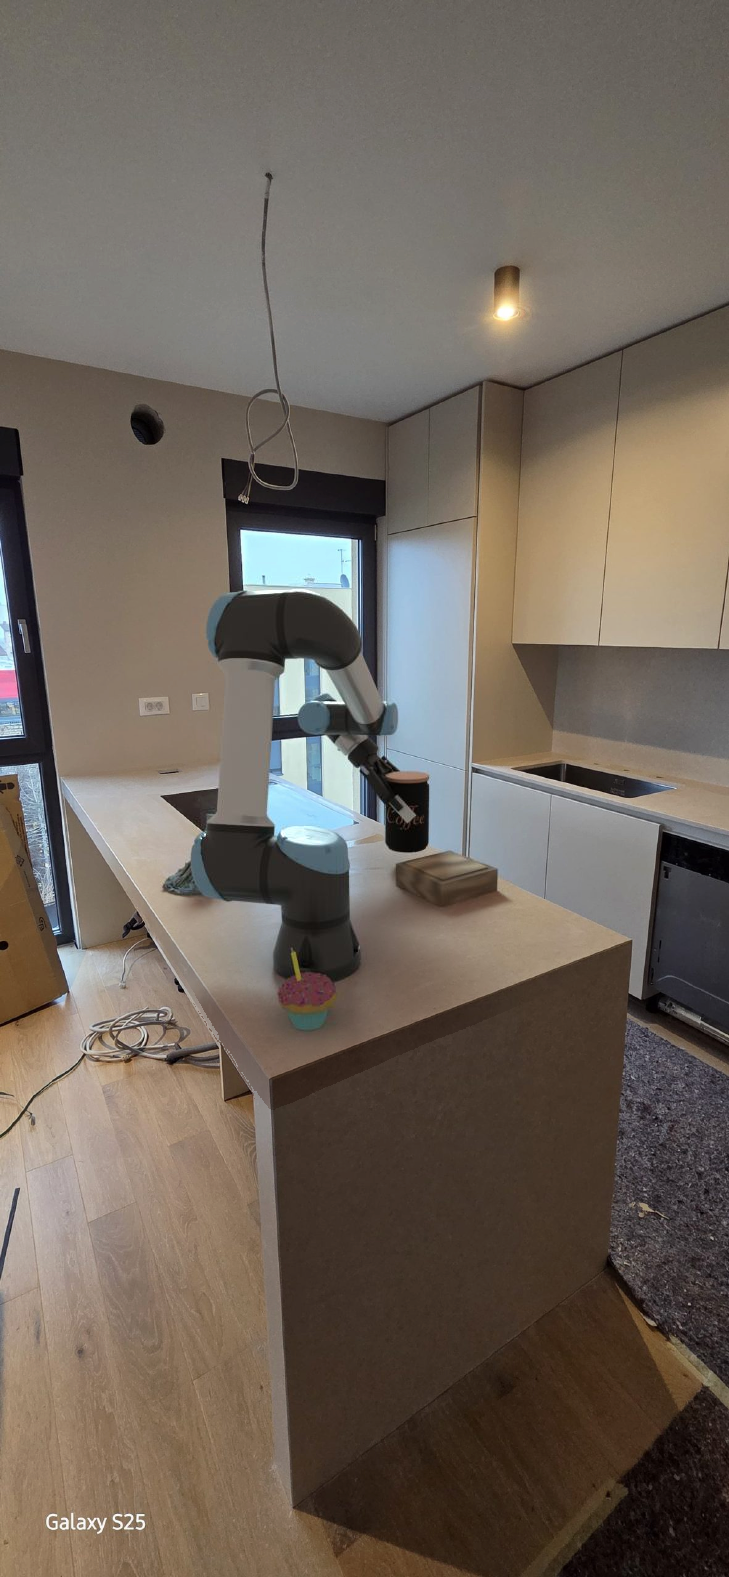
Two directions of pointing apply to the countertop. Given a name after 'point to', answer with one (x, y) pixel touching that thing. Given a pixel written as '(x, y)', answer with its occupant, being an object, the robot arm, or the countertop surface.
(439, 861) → the wooden tray
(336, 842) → the robot arm
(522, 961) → the countertop surface
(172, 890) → the tree stump
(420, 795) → the coffee jar
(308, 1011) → the cupcake
